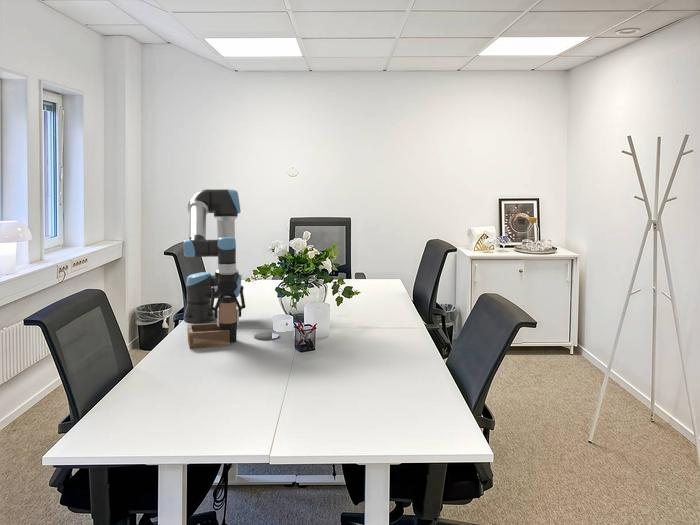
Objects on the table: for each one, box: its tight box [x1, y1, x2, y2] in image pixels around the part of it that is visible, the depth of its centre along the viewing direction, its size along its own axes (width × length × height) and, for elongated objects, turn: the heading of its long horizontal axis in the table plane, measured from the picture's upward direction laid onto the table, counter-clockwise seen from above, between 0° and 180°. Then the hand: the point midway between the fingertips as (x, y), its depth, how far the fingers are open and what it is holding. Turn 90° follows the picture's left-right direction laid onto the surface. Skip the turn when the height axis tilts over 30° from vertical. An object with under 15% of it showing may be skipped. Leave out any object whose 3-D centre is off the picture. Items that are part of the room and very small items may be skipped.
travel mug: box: [218, 294, 238, 344], centre depth 256 cm, size 8×8×20 cm
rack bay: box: [186, 322, 231, 349], centre depth 254 cm, size 15×16×6 cm
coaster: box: [253, 331, 273, 341], centre depth 265 cm, size 11×11×1 cm
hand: (227, 324), depth 256 cm, fingers closed on travel mug, 8 cm apart
